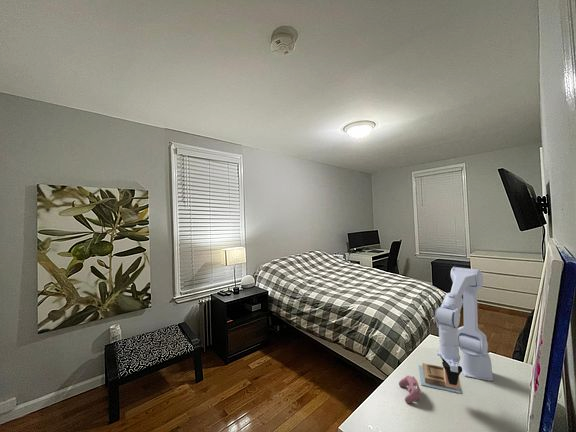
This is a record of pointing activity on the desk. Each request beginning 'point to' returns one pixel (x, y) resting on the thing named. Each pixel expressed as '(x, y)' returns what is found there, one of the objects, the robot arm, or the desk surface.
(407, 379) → the video game controller
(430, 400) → the desk surface
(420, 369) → the mat
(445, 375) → the terracotta block
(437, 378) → the walnut plinth
